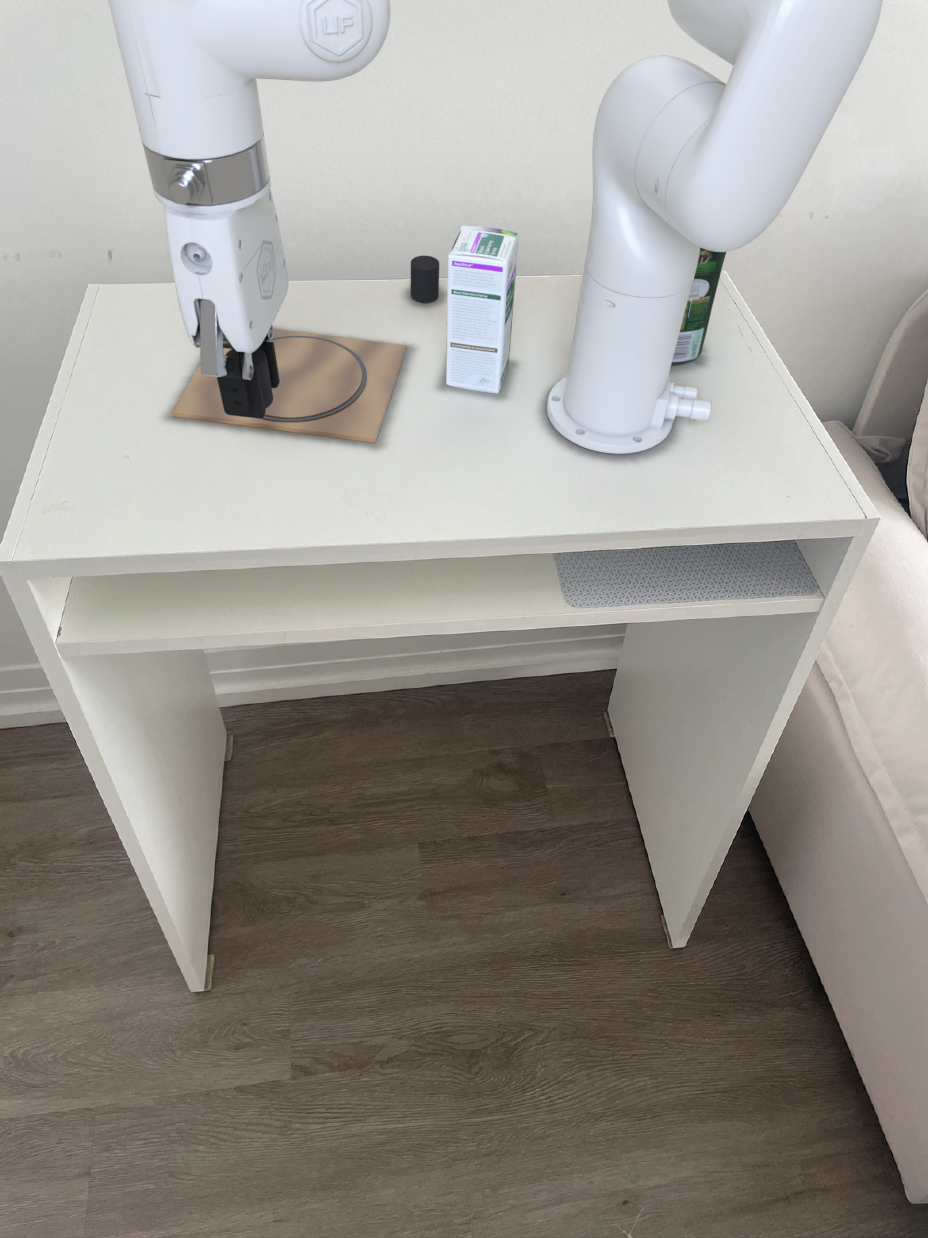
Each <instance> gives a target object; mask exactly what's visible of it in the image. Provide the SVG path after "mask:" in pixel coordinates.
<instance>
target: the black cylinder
mask: <svg viewBox="0 0 928 1238" xmlns="http://www.w3.org/2000/svg"><path fill="white" fill-rule="evenodd" d="M439 292H440V261H439V259H438V258H436V257H434V256H431V255H418V256H414V257H413V258H412V259H411V260H410V297H411V299H412V300H413V301H414V302H418V303H422V304H429V303H433V302H436V301H437V300H438V299H439V295H440V294H439Z"/></svg>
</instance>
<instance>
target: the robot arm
mask: <svg viewBox="0 0 928 1238" xmlns="http://www.w3.org/2000/svg"><path fill="white" fill-rule="evenodd" d="M107 2H108V6H109V11H110V14H111V18H112V22H113V26H114V27H113V28H114V31H115V35H116V39H117V44H118V48H119V52H120V55H121V59H122V64H123V68H124V72H125V77H126V81H127V85H128V89H129V94H130V97H131V98H130V99H131V102H132V107H133V110H134V114H135V118H136V119H135V120H136V122H137V125H138V131H139V136H140V140H141V144H142V147H143V151H144V156H145V160H146V163H147V164H146V165H147V168H148V172H149V177H150V180H151V185H152V189H153V193H154V194H153V195H154V196H155V198H156V200H157V201H158V202H159V203H161V204H162V205H163V206H164V207H163V213H164V220H165V221H164V223H165V229H166V238H167V239H166V240H167V244H168V245H167V246H168V253H169V258H170V266H171V270H172V276H173V281H174V287H175V291H176V296H177V302H178V306H179V311H180V315H181V318H182V322H183V325H184V329H185V332H186V335H187V338H188V340H189V342H190V343H191V345H192V346H193V347H195V348H196V349H199V348H200V349H199V350H200V351H199V352H200V356H199V357H200V363H201V374H202V375H204V376H213V377H217V380H218V385H219V389H220V394H221V398H222V403H223V408H224V411H225V413H226V414H228V415H233V416H241V417H250V418H259V419H261V418H263V417H264V415H265V413H266V410H265V404H264V399H263V393H262V387H261V382H260V376H259V372H255V371H253V362H252V354H251V353H253V352H254V351H255V350H257V349H258V348H260V349H262V350H263V351H264V352H265V354H266V357H267V363H268V369H269V375H270V381H271V387H272V388H277V387H278V385H279V383H280V379H279V373H278V366H277V360H276V354H275V348H274V342H268V341H267V340H272V337H273V329H274V326H273V323H274V321H275V320H276V318H277V315H278V314H279V313H280V310H281V307H282V305H283V304H284V302H285V299H286V297H287V293H288V290H289V276H288V275H289V274H288V267H287V263H286V258H285V257H286V256H285V251H284V246H283V240H282V235H281V230H280V224H279V219H278V214H277V210H276V204H275V202H274V201H275V200H274V197H273V193H272V190H271V187H272V181H271V174H270V169H269V161H268V154H267V147H266V139H265V132H264V124H263V118H262V110H261V104H260V95H259V88H258V80H257V79H259V80H260V79H261V80H277V81H278V80H279V81H280V80H281V81H294V82H311V83H312V82H313V83H315V82H317V83H320V82H321V83H322V82H332V81H334V82H335V81H338V80H339V81H340V80H342V79H345V78H348V77H351V76H354V75H356V74H357V73H359V72H361V71H362V70H364V69H365V68H367V67H368V65H370V64H371V63H372V62H373V61H374V60H375V58H376V57H377V56H378V55H379V53H380V51H381V49H383V46H384V44H385V41H386V39H387V37H388V33H389V29H390V24H391V1H390V0H107ZM883 2H884V0H667V5H668V9H669V11H670V15H671V17H672V19H673V20H674V22H675V23H676V25H677V26H678V27H679V29H681V30H682V32H684V33H685V34H686V35H687V36H688V37H689V38H690V39H692V40H693V41H694V42H696V43H697V44H699V45H700V46H702V47H703V48H705V50H708V51H709V52H711V53H712V54H714V55H716V56H717V57H719V58H720V59H722V60H724V61H725V62H727V63H729V64H730V65H731V66H732V68H731V72H730V74H729V77H728V79H727V81H726V82H725V81H722V80H721V79H719V78H718V77H716V76H714V75H713V74H712V73H710V72H709V71H707V70H705V69H704V68H702V67H701V66H699V65H697V64H695V63H693V62H691V61H689V60H687V59H684V58H681V57H678V56H675V55H674V56H673V55H667V54H666V55H665V54H661V55H650V56H647V57H644V58H641V59H638V60H636V61H635V62H632V63H631V64H629V65H628V66H627V67H626V68H624V69H623V70H622V71H621V72H620V73H619V74H618V75H617V76H616V77H614V79H613V80H612V82H611V83H610V85H609V86H608V88H607V89H606V90H605V91H606V92H605V93H604V95H603V97H602V99H601V101H600V104H599V107H598V110H597V112H596V117H595V122H594V128H593V133H592V147H591V149H592V151H591V156H592V157H591V159H592V161H591V162H592V163H591V164H592V202H591V203H592V206H591V218H590V227H589V235H588V241H587V248H586V254H585V255H586V256H585V261H584V266H583V272H582V279H581V285H580V292H579V297H578V304H577V311H576V317H575V322H574V329H573V335H572V336H573V337H572V343H571V349H570V355H569V362H568V369H567V374H566V375H567V376H565V377H563V378H561V379H560V380H559V381H557V382H556V383H555V384H554V386H553V387H552V388H551V389H550V391H549V394H548V396H547V403H546V412H547V416H548V419H549V422H550V423H551V425H552V426H553V427H554V429H555V430H556V431H557V432H558V433H559V434H560V435H561V436H563V437H564V438H565V439H567V440H568V441H570V442H571V443H574V444H575V445H578V446H579V447H582V448H585V449H588V450H591V451H594V452H599V453H604V454H614V455H623V454H624V455H626V454H634V453H639V452H643V451H646V450H649V449H652V448H654V447H655V446H658V445H660V444H661V443H662V442H663V441H664V440H665V439H667V437H668V435H669V434H670V432H671V430H672V427H673V424H674V421H675V419H676V417H680V418H687V419H690V420H696V421H697V420H699V421H705V422H707V421H709V419H710V415H711V412H712V400H708V399H699V398H697V397H698V392H699V391H698V390H699V389H698V388H699V387H698V386H693V385H678V384H675V382H674V381H671V377H670V376H671V375H670V374H671V373H670V372H671V368H672V365H671V364H672V360H673V356H674V352H675V348H676V344H677V340H678V336H679V332H680V329H681V325H682V321H683V317H684V313H685V309H686V305H687V301H688V297H689V293H690V290H691V286H692V282H693V280H694V276H695V272H696V268H697V264H698V259H699V254H700V247H701V248H703V249H706V250H709V251H714V252H726V253H727V252H730V251H735V250H738V249H740V248H743V247H744V246H746V245H748V244H750V243H752V242H753V241H754V240H756V239H758V237H759V236H760V235H762V234H763V233H764V232H765V231H766V230H767V229H768V228H769V226H770V225H772V223H773V222H774V221H775V219H776V218H777V217H778V216H779V215H780V214H781V212H782V210H783V209H784V207H785V206H786V204H787V202H788V201H789V199H790V198H791V196H792V194H793V193H794V191H795V189H796V187H797V185H798V184H799V182H800V181H801V178H802V176H803V175H804V173H805V171H806V169H807V166H808V165H809V163H810V161H811V159H812V158H813V156H814V154H815V152H816V150H817V149H818V146H819V145H820V143H821V142H822V139H823V137H824V135H825V133H826V131H827V129H828V128H829V126H830V124H831V122H832V120H833V118H834V116H835V114H836V112H837V110H838V108H839V107H840V105H841V103H842V101H843V99H844V97H845V95H846V93H847V91H848V89H849V87H850V86H851V84H852V82H853V80H854V78H855V76H856V75H857V73H858V70H859V69H860V66H861V65H862V63H863V60H864V58H865V56H866V54H867V52H868V50H869V48H870V45H871V43H872V41H873V38H874V36H875V33H876V31H877V27H878V24H879V20H880V16H881V12H882V7H883ZM223 348H228V349H235V350H236V351H237V352H238V353H239V360H238V359H237V358H235V357H228V356H224V353H223Z"/></svg>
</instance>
